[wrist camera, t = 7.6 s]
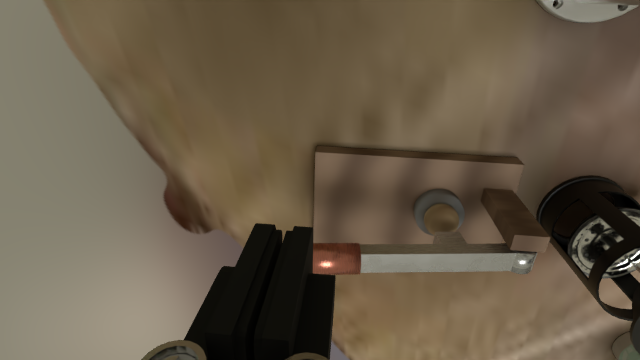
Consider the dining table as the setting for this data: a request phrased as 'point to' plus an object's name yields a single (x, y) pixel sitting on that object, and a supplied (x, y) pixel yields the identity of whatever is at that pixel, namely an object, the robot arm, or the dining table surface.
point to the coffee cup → (624, 348)
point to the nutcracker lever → (420, 257)
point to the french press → (599, 240)
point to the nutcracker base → (401, 179)
